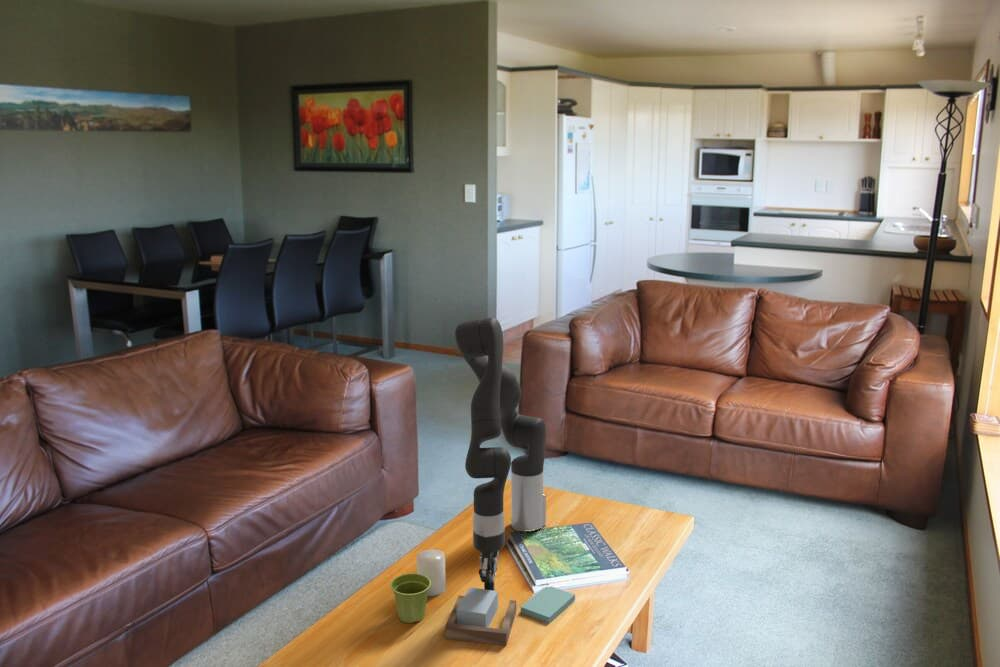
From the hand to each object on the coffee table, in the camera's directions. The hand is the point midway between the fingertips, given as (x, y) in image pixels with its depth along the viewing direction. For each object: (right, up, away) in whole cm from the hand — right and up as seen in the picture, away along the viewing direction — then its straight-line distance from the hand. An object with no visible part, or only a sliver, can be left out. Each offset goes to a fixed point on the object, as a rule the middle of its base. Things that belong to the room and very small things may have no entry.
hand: (489, 593), depth 201 cm
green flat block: (+14, -3, -1) cm, 15 cm away
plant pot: (-18, -4, -5) cm, 19 cm away
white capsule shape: (-15, -1, +7) cm, 16 cm away
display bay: (-2, -5, -8) cm, 9 cm away
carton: (-3, -4, -6) cm, 8 cm away
